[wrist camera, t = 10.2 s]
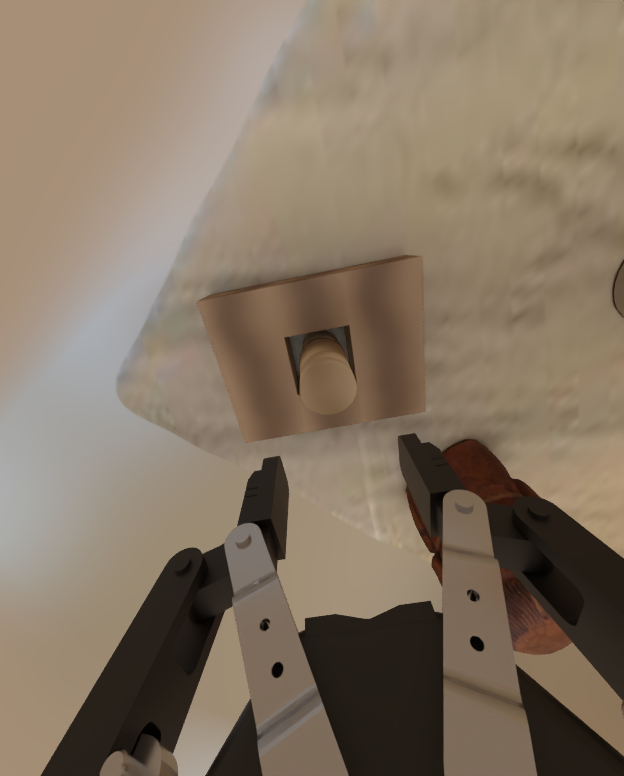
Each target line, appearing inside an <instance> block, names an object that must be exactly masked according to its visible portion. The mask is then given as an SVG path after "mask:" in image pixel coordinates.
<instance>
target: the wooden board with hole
mask: <svg viewBox="0 0 624 776" xmlns="http://www.w3.org/2000/svg"><path fill="white" fill-rule="evenodd" d="M197 304H198V307H199V310H200V313H201V316H202V319H203V322H204V325H205V327H206V330H207V333H208V336H209V339H210V342H211V345H212V348H213V350H214V353H215V356H216V359H217V362H218V365H219V368H220V370H221V373H222V376H223V379H224V382H225V385H226V388H227V391H228V393H229V396H230V399H231V402H232V405H233V408H234V411H235V414H236V416H237V419H238V422H239V425H240V428H241V431H242V434H243V437H244V439H245V442H246V443H248V442H254V441H259V440H265V439H271V438H277V437H282V436H288V435H294V434H299V433H305V432H311V431H317V430H322V429H328V428H334V427H340V426H345V425H351V424H357V423H362V422H368V421H374V420H380V419H385V418H391V417H397V416H402V415H408V414H414V413H420V412H425V367H424V320H423V272H422V256H408V255H405V256H400V257H395V258H390V259H385V260H380V261H375V262H370V263H365V264H360V265H355V266H350V267H346V268H341V269H336V270H331V271H326V272H321V273H316V274H311V275H306V276H301V277H296V278H291V279H286V280H281V281H276V282H272V283H267V284H262V285H257V286H252V287H247V288H242V289H237V290H232V291H227V292H222V293H217V294H212V295H209V296H207V297H205V298H203V299H201V300H199V301H197ZM342 326H345V332H346V339H347V346H348V353H349V360H350V367H351V370H352V372H353V375H354V377H355V380H356V383H357V392H356V396H355V398H354V400H353V402H352V403H351V404H350V405H349V407H347V408H346V409H345V410H343V411H341V412H339V413H336V414H331V415H324V414H319V413H316V412H314V411H312V410H310V409H309V408H308V407H307V406H306V405H305V404H304V402H303V401H302V399H301V396H300V378H298V375H297V371H296V366H295V362H294V358H293V353H292V349H291V344H290V340H289V337H290V336H295V335H300V334H305V333H311V332H316V331H321V330H326V329H331V328H337V327H342Z"/></svg>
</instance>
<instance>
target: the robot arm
mask: <svg viewBox="0 0 624 776" xmlns="http://www.w3.org/2000/svg"><path fill="white" fill-rule="evenodd" d="M614 300H615V304H616V307H617V309H618V311H619V312H620V313H621V314H622V316H624V264H623V265H622V267H621V269H620V271H619V274H618V277H617V279H616V282H615V289H614ZM398 447H399V461H400V467H401V471H402V474H403V477H404V479H405V481H406V483H407V486H408V488H409V490H410V492H411V495H412V497H413V499H414V501H415V504H416V506H417V508H418V510H419V512H420V515H421V517H422V519H423V521H424V524H425V526H426V528H427V530H428V533H429V535H430V537H438V536H439V538H440V540H441V542H442V589H443V590H442V594H443V595H442V596H443V597H442V601H443V602H442V613H439V612H434V609H433V606H432V604H431V601H426V602H418V603H411V604H404V605H399V606H396V607H394V608H392V609H390V610H388V611H386V612H384V613H382V614H380V615H377V616H375V617H373V618H371V619H362V618H356V617H350V616H344V615H337V614H333V615H326V616H319V617H311V618H305V630H303V631H301V632H300V633H299V632H298V629H297V627H296V624H295V621H294V618H293V616H292V613H291V610H290V608H289V605H288V602H287V599H286V597H285V594H284V591H283V588H282V586H281V583H280V580H279V577H278V575H277V560H282V559H285V554H286V536H287V518H288V500H289V487H288V481H287V478H286V474H285V471H284V467H283V464H282V461H281V458H280V456H276V457H271V458H265V459H264V460H263V465H262V470H259V471H254V472H253V474H252V475H251V477H250V478H249V479H248V483H247V487H246V491H245V496H244V500H243V504H242V508H241V512H240V517H239V521H238V525H237V527H236V528H235V529H233V530H232V531H231V532H230V533H229V535H228V536H227V538H226V540H225V543H224V544H222V545H221V546H219V547H217V548H214V549H212V550H210V551H208V552H206V553H204V554H202V553H201V551H200V550H199V549H197V548H187V549H184V550H182V551H180V552H178V553H177V554H176V555H174V556H173V557H172V558H171V559H170V560H169V562H168V563H167V565H166V566H165V568H164V570H163V571H162V573H161V574H160V576H159V578H158V579H157V581H156V583H155V585H154V586H153V588H152V590H151V591H150V593H149V594H148V596H147V598H146V600H145V601H144V603H143V605H142V606H141V608H140V610H139V611H138V613H137V615H136V617H135V618H134V620H133V621H132V623H131V625H130V626H129V628H128V630H127V632H126V633H125V635H124V636H123V638H122V640H121V642H120V643H119V645H118V647H117V648H116V650H115V652H114V653H113V655H112V657H111V658H110V660H109V662H108V663H107V665H106V667H105V668H104V670H103V672H102V673H101V675H100V677H99V678H98V680H97V682H96V683H95V685H94V687H93V688H92V690H91V692H90V694H89V695H88V697H87V699H86V700H85V702H84V704H83V705H82V707H81V709H80V711H79V712H78V714H77V715H76V717H75V719H74V721H73V722H72V724H71V726H70V727H69V729H68V731H67V732H66V734H65V735H64V737H63V739H62V741H61V742H60V744H59V746H58V747H57V749H56V751H55V752H54V754H53V756H52V757H51V759H50V761H49V762H48V764H47V766H46V768H45V769H44V771H43V773H42V774H41V776H178V766H177V762H176V759H175V757H174V756H173V752H174V749H175V746H176V744H177V741H178V738H179V735H180V732H181V730H182V727H183V724H184V722H185V719H186V716H187V713H188V711H189V708H190V705H191V703H192V700H193V697H194V694H195V692H196V689H197V686H198V683H199V681H200V678H201V675H202V672H203V670H204V667H205V664H206V661H207V659H208V656H209V653H210V650H211V647H212V645H213V642H214V639H215V637H216V634H217V631H218V628H219V626H220V622H221V620H222V617H223V615H224V612H225V610H227V609H228V608H230V607H232V606H233V609H234V615H235V620H236V624H237V630H238V635H239V640H240V645H241V651H242V656H243V661H244V666H245V671H246V676H247V681H248V687H249V692H250V697H251V699H250V700H249V702H248V703H247V705H246V707H245V709H244V710H243V712H242V714H241V716H240V717H239V719H238V721H237V722H236V724H235V726H234V727H233V729H232V731H231V733H230V734H229V736H228V738H227V739H226V741H225V743H224V745H223V746H222V748H221V750H220V752H219V753H218V755H217V757H216V758H215V760H214V762H213V764H212V765H211V767H210V769H209V770H208V772H207V774H206V775H205V776H624V756H623V755H622V754H620V753H619V752H618V751H617V750H616V749H615V748H613V747H612V746H611V745H610V744H609V743H608V742H606V741H605V740H604V739H603V738H602V737H600V736H599V735H598V734H597V733H596V732H595V731H593V730H592V729H591V728H590V727H589V726H588V725H586V724H585V723H584V722H583V721H582V720H581V719H579V718H578V717H577V716H576V715H575V714H573V713H572V712H571V711H570V710H569V709H568V708H566V707H565V706H564V705H563V704H562V703H560V702H559V701H558V700H557V699H556V698H555V697H553V696H552V695H551V694H550V693H549V692H548V691H546V690H545V689H544V688H543V687H542V686H540V685H539V684H538V683H537V682H536V681H535V680H534V679H532V678H531V677H530V676H529V675H528V674H526V673H525V672H524V671H523V670H522V669H521V668H519V667H518V666H517V665H516V664H515V659H514V652H513V646H512V640H511V634H510V628H509V622H508V616H507V610H506V604H505V598H504V592H503V585H502V579H501V573H500V568H505V569H510V570H511V571H512V573H513V574H514V575H515V576H516V577H517V578H518V580H519V581H520V582H521V583H522V584H523V585H524V586H525V588H526V589H527V590H528V591H529V592H530V593H531V595H532V596H533V597H534V598H535V599H536V600H537V602H538V603H539V604H540V605H541V606H542V607H543V609H544V610H545V611H546V612H547V613H548V614H549V616H550V617H551V618H552V619H553V620H554V621H555V622H556V624H557V625H558V626H559V627H560V628H561V629H562V631H563V632H564V633H565V634H566V635H567V636H568V638H569V639H570V640H571V641H572V642H573V643H574V644H575V646H576V647H577V648H578V649H579V650H580V651H581V653H582V654H583V655H584V656H585V657H586V658H587V660H588V661H589V662H590V663H591V664H592V665H593V667H594V668H595V669H596V670H597V671H598V672H599V674H600V675H601V676H602V677H603V678H604V679H605V680H606V682H607V683H608V684H609V685H610V686H611V688H612V689H613V690H614V691H615V692H616V693H617V694H618V696H619V697H620V698H621V699H622V700H623V702H622V709H621V710H622V716H623V719H624V558H622V557H621V556H620V555H618V554H617V553H616V552H615V551H613V550H612V549H611V548H609V547H608V546H607V545H606V544H604V543H603V542H602V541H601V540H599V539H598V538H597V537H595V536H594V535H593V534H592V533H590V532H589V531H588V530H586V529H585V528H584V527H583V526H581V525H580V524H579V523H578V522H576V521H575V520H574V519H572V518H571V517H570V516H569V515H567V514H566V513H565V512H564V511H562V510H561V509H560V508H558V507H557V506H556V505H554V504H553V503H551V502H549V501H547V500H545V499H542V498H539V497H534V496H524V497H520V498H518V499H517V500H515V502H514V504H513V506H506V505H497V504H490V503H486V502H484V501H483V500H482V499H481V498H480V497H479V496H478V495H476V494H474V493H472V492H470V491H468V490H467V489H466V488H465V486H464V485H463V483H462V482H461V480H460V479H459V477H458V476H457V475H456V473H455V472H454V470H453V469H452V467H451V466H450V465H449V463H448V461H447V460H446V459H445V458H444V456H443V454H442V453H441V451H440V450H439V448H437V447H436V446H434V445H433V444H431V443H430V442H427V443H421V442H420V440H419V439H418V437H417V435H416V434H415V433H413V434H407V435H401V436H398Z"/></svg>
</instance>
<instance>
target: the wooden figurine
mask: <svg viewBox="0 0 624 776" xmlns="http://www.w3.org/2000/svg"><path fill="white" fill-rule="evenodd" d="M443 456H444V458H445V459H446V460H447V461H448V463H449V465H450V466H451V467H452V469H453V470H454V472H455V473H456V475H457V476H458V477H459V479H460V480H461V482H462V483H463V485H464V486H465V488H466V489H467V490H468V491H470V492H472V493H474V494H476V495H478V496H479V497H480V498H481V499H482V500H483V501H484V502H486V503H490V504H497V505H506V506H513V504H514V502H515V500H517V499H518V498H520V497H524V496H534V497H539V496H538V495H537V494H536V493H535V492H534V491H533V490H532V489H531V488H530V487H529V486H528V485H527V484H525V483H524V482H523V481H521V480H519V479H512V478H511V477H510V475H509V474H508V472H507V470H506V468H505V467H504V466H503V464H502V463H501V462H500V461H499V459H498V458H497V457H496V456H495V455H494V454H493V453H492V452H490V451H489V450H488V449H487V448H486V447H485V446H484V445H482V444H480V443H479V442H478V441H476V440H470V441H465V442H462V443H460V444H458V445H455V446H453V447H451V448H449V449H448V450H447V451H446V452H444V453H443ZM406 493H407V498H408V502H409V507H410V510H411V513H412V517H413V520H414V522H415V525H416V527H417V529H418V531H419V534H420V536H421V537H422V539H423V541H424V543H425V545H426V547H427V548H428V550H429V551H430V552H431V553H435V555H434V556H433V558H432V568H433V570H434V571H435V573H436V575H437V577H438V579H439V581H440V583H441V586H442V542H441V540H440V538H439V536H438V537H430V535H429V533H428V530H427V528H426V526H425V524H424V521H423V519H422V517H421V515H420V512H419V510H418V508H417V506H416V504H415V501H414V499H413V497H412V495H411V492H410V490H409V488H408V486H407V492H406ZM539 498H540V497H539ZM500 573H501V579H502V585H503V592H504V598H505V604H506V610H507V616H508V622H509V628H510V634H511V640H512V646H513V650H515V651H518V652H522V653H527V654H534V655H541V654H551V653H554V652H556V651H558V650H561V649H563V648H565V647H566V646H568V645H569V644H570V643H572V641H571V640H570V639H569V638H568V636H567V635H566V634H565V633H564V632H563V631H562V629H561V628H560V627H559V626H558V625H557V624H556V622H555V621H554V620H553V619H552V618H551V617H550V616H549V614H548V613H547V612H546V611H545V610H544V609H543V607H542V606H541V605H540V604H539V603H538V602H537V600H536V599H535V598H534V597H533V596H532V595H531V593H530V592H529V591H528V590H527V589H526V588H525V586H524V585H523V584H522V583H521V582H520V581H519V580H518V578H517V577H516V576H515V575H514V574H513V573H512V571H511V570H510V569H505V568H500Z"/></svg>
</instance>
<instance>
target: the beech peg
mask: <svg viewBox="0 0 624 776" xmlns="http://www.w3.org/2000/svg"><path fill="white" fill-rule="evenodd" d="M356 392H357V383H356V380H355V377H354V375H353V372H352V370H351V368H350V365H349V363H348V360H347V358H346V354H345V352H344V350H343V348H342V346H341V345H340V344H339V343H338V342H337V339H336V338H335V336H334V335H333V334H332V333H330V332H329V331H326V330H321V331H316V332H311V333H309V334H308V335H307V336H306V338H305V339H304V341H303V346H302V351H301V354H300V396H301V399H302V401H303V402H304V404H305V405H306V406H307V407H308V408H309V409H310V410H312V411H314V412H316V413H319V414H324V415H331V414H336V413H339V412H341V411H343V410H345V409H346V408H347V407H349V405H350V404H351V403H352V402H353V400H354V398H355V396H356Z"/></svg>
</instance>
